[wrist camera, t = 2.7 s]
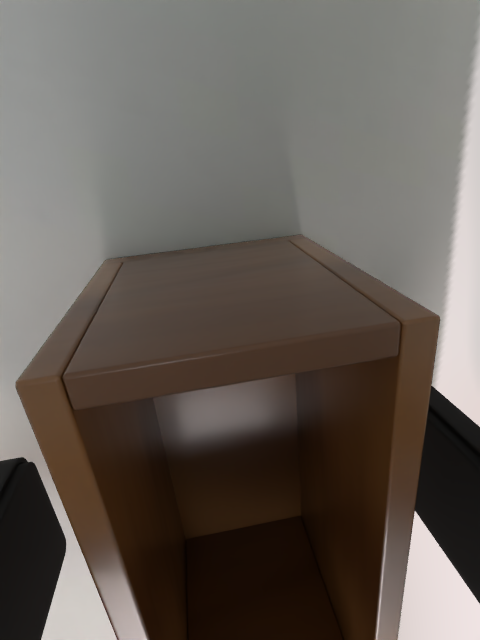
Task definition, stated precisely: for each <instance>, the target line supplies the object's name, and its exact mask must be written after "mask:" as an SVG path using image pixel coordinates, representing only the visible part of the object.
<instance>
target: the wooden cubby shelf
mask: <svg viewBox="0 0 480 640" xmlns="http://www.w3.org/2000/svg"><path fill="white" fill-rule="evenodd" d="M439 324H440V317H439V316H438V315H436V314H435V313H433V312H431V311H430V310H428V309H426V308H425V307H423V306H421V305H420V304H418V303H416V302H415V301H413V300H411V299H410V298H408V297H406V296H404V295H403V294H401V293H399V292H398V291H396V290H394V289H393V288H391V287H389V286H388V285H386V284H384V283H383V282H381V281H379V280H378V279H376V278H374V277H372V276H371V275H369V274H367V273H366V272H364V271H362V270H361V269H359V268H357V267H356V266H354V265H352V264H351V263H349V262H347V261H346V260H344V259H342V258H340V257H339V256H337V255H335V254H334V253H332V252H330V251H329V250H327V249H325V248H324V247H322V246H320V245H319V244H317V243H315V242H313V241H312V240H310V239H308V238H307V237H305V236H303V235H294V236H286V237H279V238H271V239H263V240H255V241H248V242H240V243H232V244H224V245H217V246H209V247H201V248H193V249H186V250H178V251H170V252H162V253H154V254H147V255H139V256H131V257H124V258H116V259H108V260H105V261H104V263H103V264H102V265H101V267H100V268H99V269H98V271H97V272H96V274H95V275H94V276H93V278H92V279H91V280H90V282H89V283H88V284H87V286H86V287H85V289H84V290H83V291H82V293H81V294H80V295H79V297H78V298H77V299H76V301H75V302H74V304H73V305H72V306H71V308H70V309H69V310H68V312H67V313H66V314H65V316H64V317H63V319H62V320H61V321H60V323H59V324H58V325H57V327H56V328H55V329H54V331H53V332H52V334H51V335H50V336H49V338H48V339H47V340H46V342H45V343H44V344H43V346H42V347H41V349H40V350H39V351H38V353H37V354H36V355H35V357H34V358H33V359H32V361H31V362H30V364H29V365H28V366H27V368H26V369H25V370H24V372H23V373H22V374H21V376H20V377H19V379H18V380H17V381H16V390H17V392H18V394H19V397H20V399H21V402H22V404H23V407H24V409H25V412H26V414H27V417H28V419H29V422H30V424H31V427H32V429H33V432H34V434H35V437H36V439H37V442H38V444H39V446H40V449H41V451H42V454H43V456H44V459H45V461H46V464H47V466H48V469H49V471H50V474H51V476H52V479H53V481H54V484H55V486H56V489H57V491H58V494H59V496H60V499H61V501H62V503H63V506H64V508H65V511H66V513H67V516H68V518H69V521H70V523H71V526H72V528H73V531H74V533H75V536H76V538H77V541H78V543H79V546H80V548H81V551H82V553H83V555H84V558H85V560H86V563H87V565H88V568H89V570H90V573H91V575H92V578H93V580H94V583H95V585H96V588H97V590H98V593H99V595H100V598H101V600H102V603H103V605H104V608H105V610H106V612H107V615H108V617H109V620H110V622H111V625H112V627H113V630H114V632H115V635H116V637H117V640H397V639H398V631H399V624H400V616H401V609H402V601H403V594H404V586H405V579H406V571H407V564H408V556H409V549H410V540H411V534H412V526H413V519H414V511H415V504H416V496H417V489H418V481H419V474H420V466H421V459H422V451H423V444H424V436H425V429H426V421H427V414H428V406H429V399H430V391H431V384H432V376H433V369H434V361H435V354H436V346H437V339H438V331H439Z"/></svg>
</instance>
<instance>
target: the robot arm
mask: <svg viewBox="0 0 480 640" xmlns="http://www.w3.org/2000/svg"><path fill="white" fill-rule="evenodd" d="M415 511H416V512H417V514H418V515H419V516H420V518H421V520H422V521H423V522H424V524H425V525H426V527H427V528H428V530H429V531H430V532H431V534H432V535H433V537H434V538H435V540H436V541H437V543H438V544H439V546H440V547H441V548H442V550H443V551H444V553H445V554H446V555H447V557H448V558H449V560H450V561H451V563H452V564H453V566H454V567H455V568H456V570H457V571H458V573H459V574H460V576H461V577H462V579H463V580H464V582H465V583H466V584H467V586H468V587H469V589H470V590H471V592H472V593H473V595H474V596H475V597H476V599H477V600H478V602H479V603H480V427H479V426H478V425H477V424H475V423H474V422H473V421H472V420H471V419H470V418H469V417H467V416H466V415H465V414H464V413H463V412H462V411H460V410H459V409H458V408H457V407H456V406H454V405H453V404H452V403H451V402H450V401H449V400H448V399H446V398H445V397H444V396H443V395H442V394H441V393H440V392H438V391H437V390H436V389H435V388H434V387H433V386H431V391H430V399H429V406H428V414H427V421H426V429H425V436H424V444H423V451H422V459H421V466H420V474H419V481H418V489H417V496H416V504H415ZM65 552H66V539H65V536H64V533H63V531H62V528H61V526H60V523H59V521H58V519H57V516H56V514H55V511H54V509H53V507H52V504H51V502H50V499H49V497H48V494H47V492H46V490H45V487H44V485H43V482H42V480H41V477H40V475H39V473H38V470H37V468H36V466H35V464H34V463H33V462H27V460H26V459H25V458H22V457H21V458H15V459H10V460H4V461H0V640H41V637H42V634H43V630H44V627H45V623H46V620H47V616H48V613H49V609H50V606H51V602H52V599H53V595H54V592H55V588H56V585H57V581H58V578H59V574H60V570H61V567H62V563H63V560H64V556H65Z"/></svg>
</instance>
